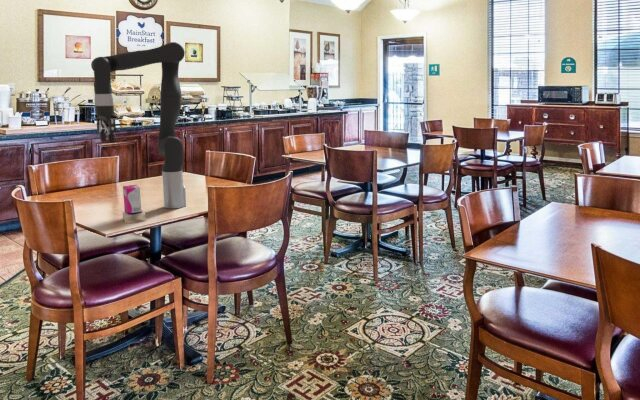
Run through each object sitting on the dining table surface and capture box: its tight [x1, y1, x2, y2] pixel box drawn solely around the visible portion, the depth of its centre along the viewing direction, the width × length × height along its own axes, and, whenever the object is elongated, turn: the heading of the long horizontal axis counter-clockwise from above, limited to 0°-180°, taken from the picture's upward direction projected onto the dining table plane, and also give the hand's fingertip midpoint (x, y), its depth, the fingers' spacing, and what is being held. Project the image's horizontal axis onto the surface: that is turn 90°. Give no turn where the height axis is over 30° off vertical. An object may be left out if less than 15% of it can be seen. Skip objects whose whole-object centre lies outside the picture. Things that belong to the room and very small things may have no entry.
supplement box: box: [122, 184, 142, 215], centre depth 231 cm, size 6×6×12 cm
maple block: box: [122, 209, 147, 224], centre depth 232 cm, size 8×8×4 cm
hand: (107, 142), depth 238 cm, fingers open, 8 cm apart
